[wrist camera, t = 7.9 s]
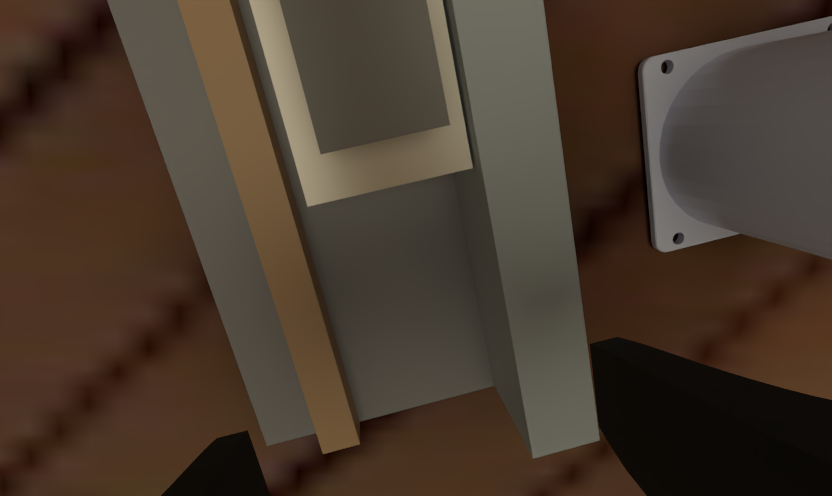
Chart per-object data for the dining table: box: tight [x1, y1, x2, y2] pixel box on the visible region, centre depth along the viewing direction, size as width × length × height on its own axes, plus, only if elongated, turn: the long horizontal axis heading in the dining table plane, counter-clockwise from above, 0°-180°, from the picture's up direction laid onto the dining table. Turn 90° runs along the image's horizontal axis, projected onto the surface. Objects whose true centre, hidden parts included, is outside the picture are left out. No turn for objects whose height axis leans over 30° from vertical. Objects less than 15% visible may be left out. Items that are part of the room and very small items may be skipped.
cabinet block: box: [249, 0, 473, 207], centre depth 13 cm, size 5×8×7 cm, turn 12°
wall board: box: [107, 0, 600, 459], centre depth 15 cm, size 13×28×6 cm, turn 12°
